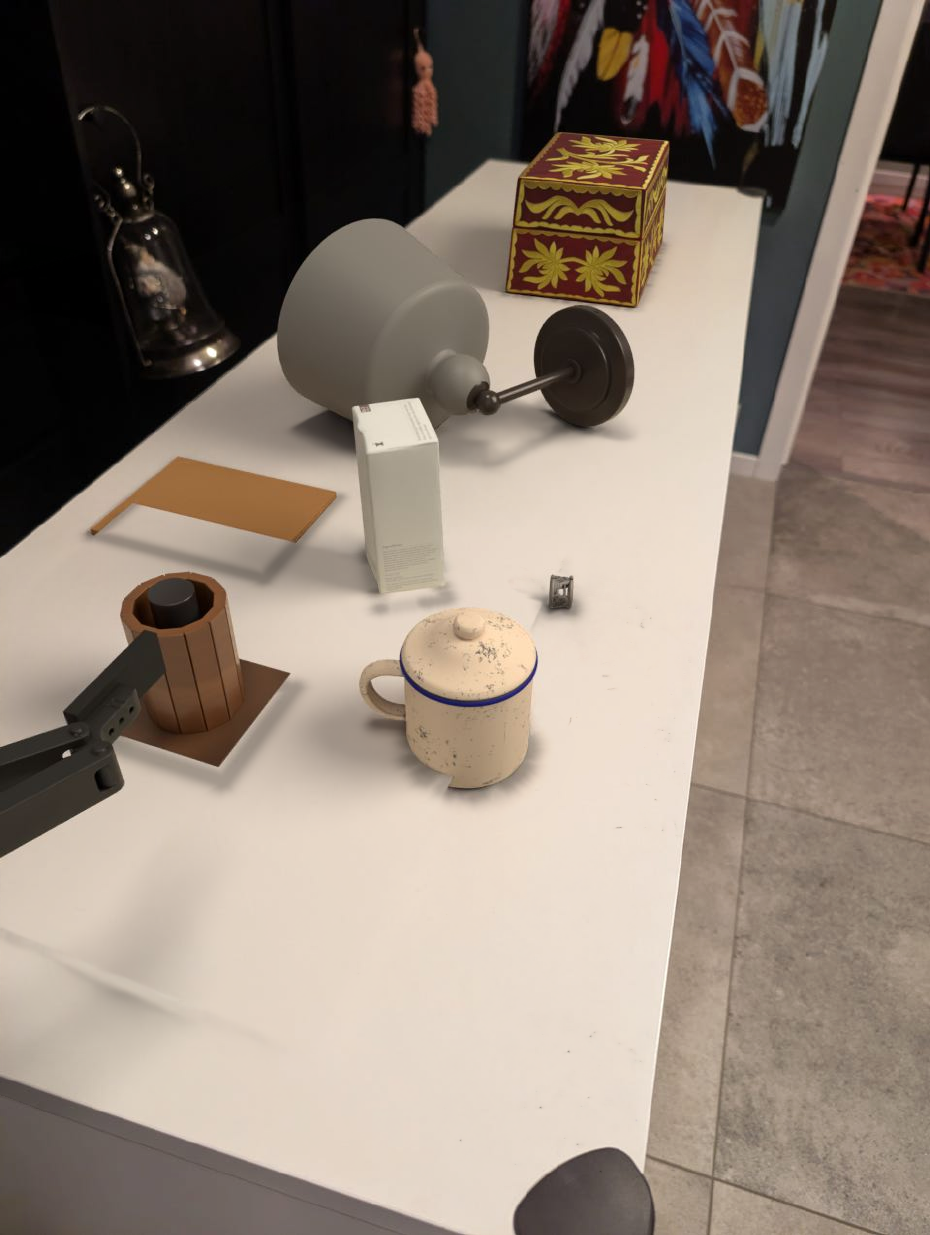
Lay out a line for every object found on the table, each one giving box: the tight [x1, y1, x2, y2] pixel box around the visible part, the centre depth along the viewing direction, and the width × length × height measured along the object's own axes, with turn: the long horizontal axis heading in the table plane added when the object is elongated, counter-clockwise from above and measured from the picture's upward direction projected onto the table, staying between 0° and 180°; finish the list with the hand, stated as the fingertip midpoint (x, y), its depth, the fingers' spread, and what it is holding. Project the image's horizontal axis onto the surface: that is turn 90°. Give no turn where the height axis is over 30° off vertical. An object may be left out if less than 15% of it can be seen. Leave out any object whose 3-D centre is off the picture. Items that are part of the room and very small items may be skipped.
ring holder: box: [119, 578, 291, 768], centre depth 67 cm, size 10×10×12 cm
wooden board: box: [89, 456, 337, 543], centre depth 90 cm, size 18×14×1 cm
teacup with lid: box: [358, 606, 539, 789], centre depth 65 cm, size 12×9×12 cm
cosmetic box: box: [352, 398, 446, 595], centre depth 79 cm, size 8×6×15 cm
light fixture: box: [276, 218, 636, 430], centre depth 98 cm, size 20×25×27 cm
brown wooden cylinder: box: [119, 571, 244, 734], centre depth 67 cm, size 7×7×9 cm
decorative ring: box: [548, 574, 574, 610], centre depth 80 cm, size 3×2×3 cm
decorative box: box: [505, 131, 670, 308], centre depth 137 cm, size 28×19×15 cm
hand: (52, 619), depth 53 cm, fingers open, 13 cm apart
